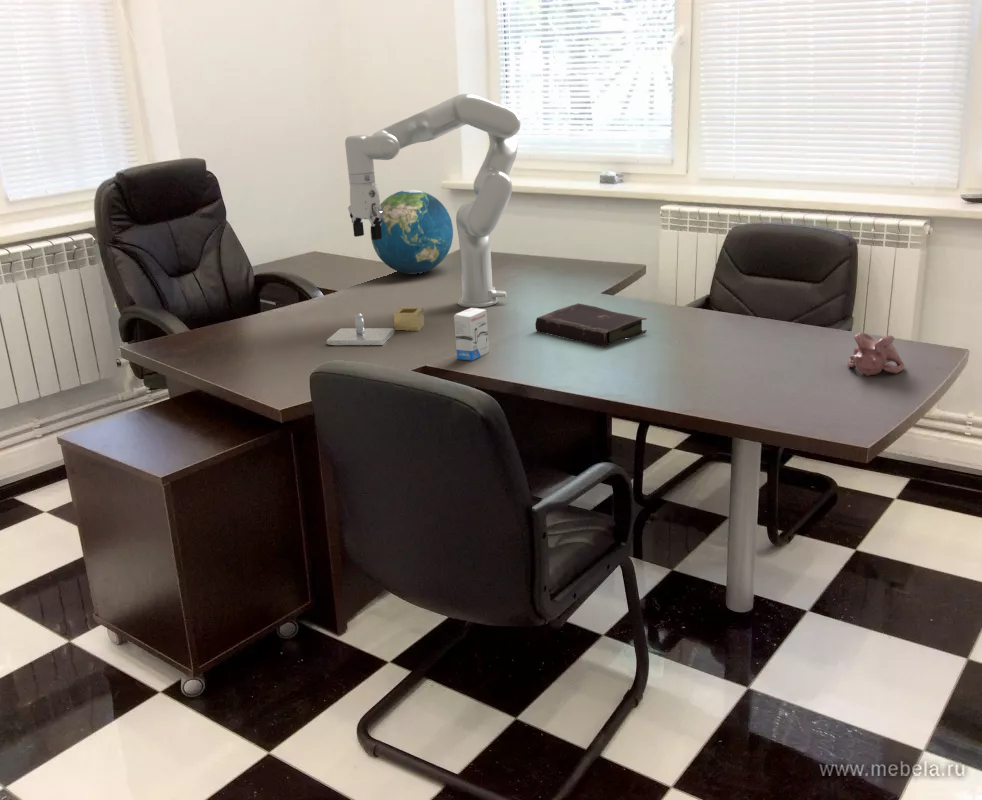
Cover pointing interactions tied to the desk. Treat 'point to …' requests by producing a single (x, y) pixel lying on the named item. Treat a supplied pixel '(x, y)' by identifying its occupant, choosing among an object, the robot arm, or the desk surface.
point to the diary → (590, 324)
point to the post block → (361, 334)
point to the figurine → (875, 355)
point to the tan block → (409, 319)
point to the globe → (413, 232)
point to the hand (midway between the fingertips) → (367, 237)
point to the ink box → (471, 334)
